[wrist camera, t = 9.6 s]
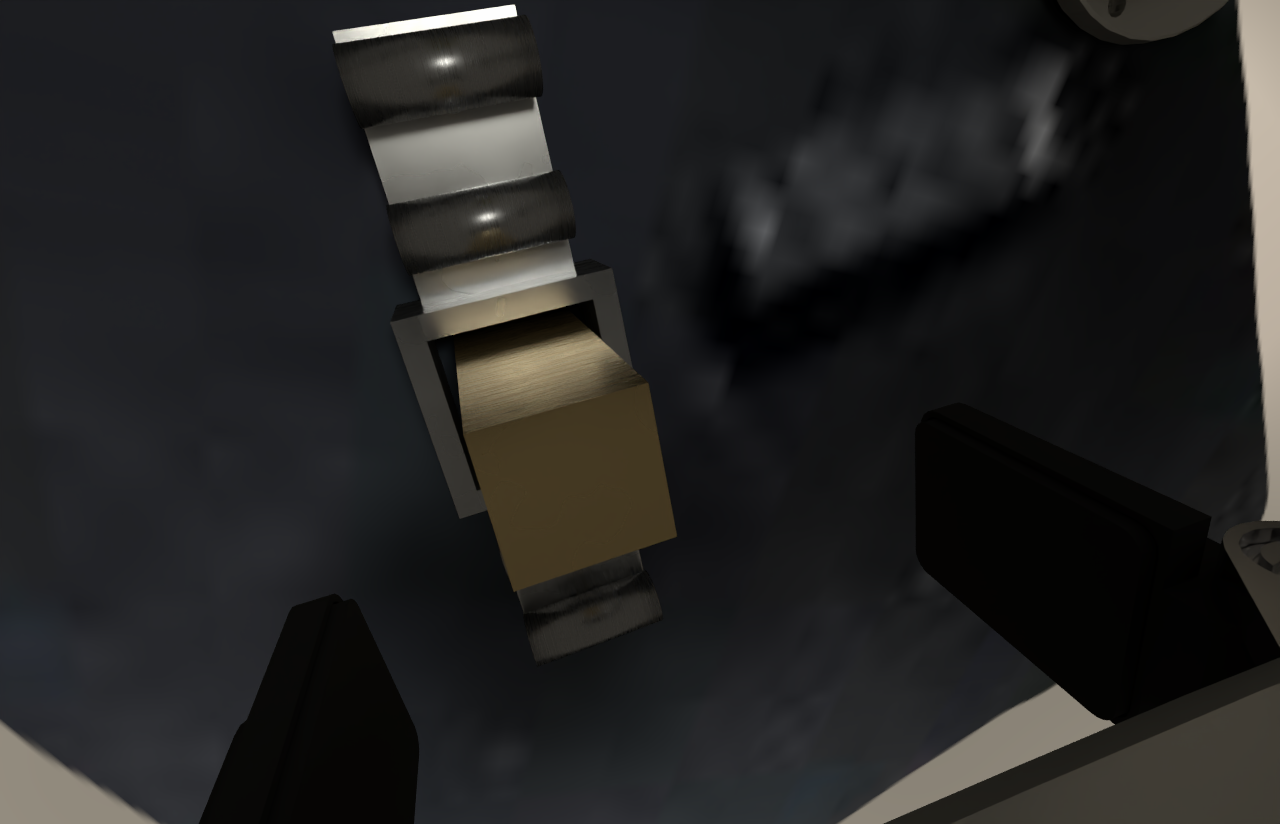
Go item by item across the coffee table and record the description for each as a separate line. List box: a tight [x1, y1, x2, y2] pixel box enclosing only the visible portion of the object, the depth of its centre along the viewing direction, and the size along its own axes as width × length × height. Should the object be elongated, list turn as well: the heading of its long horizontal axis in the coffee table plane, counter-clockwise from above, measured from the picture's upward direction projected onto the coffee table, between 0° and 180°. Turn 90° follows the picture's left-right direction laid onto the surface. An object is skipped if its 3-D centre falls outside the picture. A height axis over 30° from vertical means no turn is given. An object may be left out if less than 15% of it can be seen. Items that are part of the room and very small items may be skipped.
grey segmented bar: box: [332, 5, 663, 666], centre depth 21 cm, size 7×22×4 cm, turn 12°
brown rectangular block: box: [453, 306, 677, 592], centre depth 18 cm, size 4×4×10 cm
